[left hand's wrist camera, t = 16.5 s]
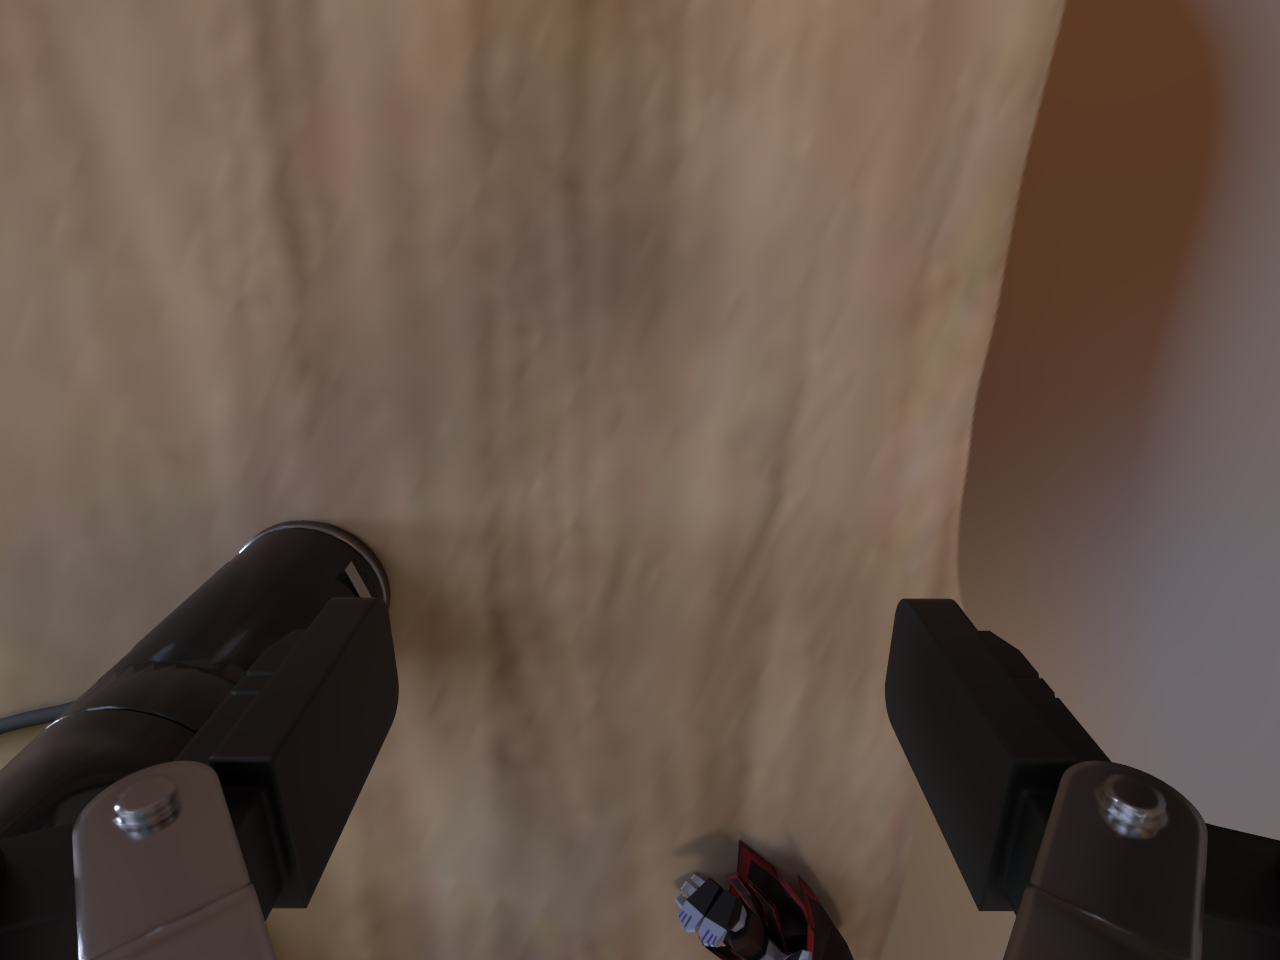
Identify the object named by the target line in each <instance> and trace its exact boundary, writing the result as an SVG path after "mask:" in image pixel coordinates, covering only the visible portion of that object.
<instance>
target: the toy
mask: <svg viewBox="0 0 1280 960" xmlns="http://www.w3.org/2000/svg"><path fill="white" fill-rule="evenodd" d="M727 875H728V876H726V878H727V879H728V880H729V882H730V883H731V884H732V885H731V887H730V889H729V891H725V890H723V888H722V887H721V886H719V885H718V884H717V883H716V882H715V881H714V880H713V879H711V878H708V879H707V880H706V879H705V878H703V877H702V876H700V875H698V874H696V873H695V874H694V875H693V876H692V878H691V880H692V881H693V882H694V883H695V884H696V885H698V886H699V888H698V889H696V888H695V887H694V886H692V885H691V884H690V883H688V882H687V881H686V882H685V884H684V885H683V886H682V887H681V890H682V891H683V892H685V893H686V894H687V895H688V896H689V898H688V899H687V898H685V897H684V896H682V895H681V894H680V893H679V894H678V896H677V897H676V899H675V901H676V903H677V904H678V906H679V907H680V908H681V910H680V911H679V912H678V917H679V918H680V920H681V922H682V924H683V926H684V928H685V931H686V932H697V931H698V929H699V935H700V937H699V936H698V937H699V938H700V940H701V943H702V945H704V946H705V947H706V948H707V949H708V950H710V951H711V952H712V953H714V955H717V957H718V958H720V959H721V960H854V959H853V957H852V955H851V952H850V950H849V947H848V945H847V943H846V941H845V940H844V939H843V937H842V936H841V934H840V933H839V931H838V930H837V928H836V927H835V925H834V924H833V922H832V921H831V919H830V918H829V916H828V915H827V913H826V912H825V910H824V909H823V907H822V905H821V904H820V902H819V901H818V899H817V898H816V896H815V895H814V893H813V892H812V890H811V889H810V887H809V886H808V885H807V884H806V883H805V882H804V881H803V880H802V878H801V877H800V876H799V875H798V878H799V883H800V887H801V891H802V895H803V899H804V903H803V902H802V900H801V899H800V898H799V897H798V896H797V894H796V893H795V892H794V891H793V889H792V888H791V887H790V886H789V884H788V883H787V882H786V881H785V879H784V878H783V877H782V876H781V874H780V873H779V872H778V871H777V869H776V868H775V867H774V866H773V865H772V864H770V863H769V862H768V861H766V860H765V859H764V858H762V857H761V856H760V855H759V854H757V853H756V852H755V851H753V850H752V849H751V848H749V847H748V846H747V845H745V844H744V843H743V842H742V841H739V854H738V867H737V872H735V873H731V874H727ZM722 943H724V944H725V945H726V946H724V947H722V946H721V945H722Z"/></svg>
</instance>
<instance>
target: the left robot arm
mask: <svg viewBox="0 0 1280 960" xmlns="http://www.w3.org/2000/svg"><path fill="white" fill-rule="evenodd" d="M389 600H390V595H389V586H388V582H387V579H386V576H385V573H384V571H383V569H382V567H381V565H380V564H379V562H378V561H377V559H376V558H375V556H374V555H373V554H372V553H371V552H370V551H369V550H368V548H367V547H365V546H364V545H363V544H362V543H361V542H360V541H358V540H357V539H356V538H354V537H353V536H351V535H350V534H348V533H346V532H344V531H342V530H340V529H338V528H335V527H333V526H330V525H327V524H323V523H319V522H312V521H290V522H284V523H280V524H277V525H274V526H271V527H269V528H267V529H265V530H264V531H262V532H260V533H259V534H258V535H256V536H255V537H254V538H253V539H252V540H251V541H250V542H248V543H247V544H246V545H245V546H244V548H243V549H242V550H241V551H240V553H239V554H238V555H237V556H236V557H235V558H233V559H232V560H231V561H230V562H228V563H226V564H225V565H224V566H223V567H222V568H221V569H220V570H218V571H217V572H216V573H215V574H214V575H213V576H212V577H211V578H210V579H208V580H207V581H206V582H205V583H204V584H203V585H202V586H201V587H200V588H199V589H197V590H196V591H195V592H194V593H193V594H192V595H191V596H190V597H189V598H187V599H186V600H185V601H184V602H183V603H182V604H181V605H180V606H179V607H177V608H176V609H175V610H174V611H173V612H172V613H171V614H170V615H169V616H167V617H166V618H165V619H164V620H163V621H162V622H161V623H160V624H159V625H157V626H156V627H155V628H154V629H153V630H152V631H151V632H150V633H149V634H147V635H146V636H145V637H144V638H143V639H142V640H141V641H140V642H139V643H137V644H136V645H135V646H134V647H133V649H132V650H131V651H130V652H129V653H128V654H127V655H126V656H124V657H123V658H122V659H121V660H120V661H119V662H118V663H117V664H116V665H115V666H113V667H112V668H111V669H110V670H109V671H108V672H107V673H106V674H105V675H103V676H102V677H101V678H100V679H99V680H98V681H97V682H96V683H95V684H94V685H93V686H92V687H91V688H90V689H88V690H87V691H86V692H85V693H84V694H83V695H82V696H81V697H80V698H79V699H77V700H76V701H74V702H70V703H66V704H62V705H58V706H53V707H48V708H44V709H39V710H34V711H30V712H25V713H21V714H17V715H13V716H10V717H6V718H3V719H0V734H3V733H6V732H10V731H13V730H17V729H21V728H25V727H29V726H34V725H39V724H43V723H48V722H52V723H51V724H50V725H49V726H48V727H46V729H44V730H43V731H42V732H41V733H40V734H39V735H38V736H37V737H35V738H34V739H33V740H32V741H31V742H30V743H29V744H28V745H27V746H26V747H25V748H24V749H23V750H22V751H20V752H19V753H18V754H17V755H16V756H15V757H14V758H13V759H12V760H11V761H10V762H9V763H8V764H7V765H6V766H5V767H4V768H3V769H2V770H1V771H0V960H277V958H276V955H275V952H274V948H273V945H272V942H271V939H270V936H269V932H268V929H267V926H266V923H265V921H266V919H267V917H268V915H269V913H270V911H271V910H272V908H307V906H308V904H309V902H310V899H311V897H312V895H313V893H314V891H315V889H316V886H317V884H318V882H319V880H320V878H321V876H322V874H323V871H324V869H325V867H326V865H327V863H328V861H329V859H330V856H331V854H332V852H333V850H334V848H335V846H336V843H337V841H338V839H339V837H340V835H341V833H342V831H343V828H344V826H345V824H346V822H347V820H348V818H349V816H350V813H351V811H352V809H353V807H354V805H355V803H356V800H357V798H358V796H359V794H360V792H361V790H362V788H363V785H364V783H365V781H366V779H367V777H368V775H369V773H370V770H371V768H372V766H373V764H374V762H375V760H376V757H377V755H378V753H379V751H380V749H381V747H382V745H383V742H384V740H385V738H386V736H387V734H388V732H389V730H390V727H391V725H392V723H393V720H394V717H395V714H396V710H397V704H398V694H399V684H398V675H397V668H396V661H395V654H394V647H393V640H392V633H391V626H390V619H389V613H388V608H389ZM885 700H886V707H887V713H888V717H889V720H890V723H891V725H892V727H893V729H894V731H895V734H896V736H897V738H898V740H899V742H900V744H901V746H902V748H903V751H904V753H905V755H906V757H907V759H908V761H909V763H910V765H911V768H912V770H913V772H914V774H915V776H916V778H917V780H918V782H919V785H920V787H921V789H922V791H923V793H924V795H925V797H926V799H927V802H928V804H929V806H930V808H931V810H932V812H933V814H934V816H935V818H936V821H937V823H938V825H939V827H940V829H941V831H942V833H943V835H944V838H945V840H946V842H947V844H948V846H949V848H950V850H951V853H952V855H953V857H954V859H955V861H956V863H957V865H958V867H959V869H960V872H961V874H962V876H963V878H964V880H965V882H966V884H967V887H968V889H969V891H970V893H971V895H972V897H973V899H974V901H975V904H976V906H977V908H978V910H979V911H1014V913H1015V915H1016V920H1015V923H1014V926H1013V929H1012V932H1011V936H1010V939H1009V942H1008V945H1007V948H1006V952H1005V955H1004V958H1003V960H1280V841H1279V840H1274V839H1270V838H1266V837H1262V836H1257V835H1253V834H1249V833H1244V832H1240V831H1236V830H1231V829H1227V828H1223V827H1218V826H1214V825H1211V824H1207V823H1205V822H1204V820H1203V818H1202V816H1201V815H1200V813H1199V812H1198V810H1197V809H1196V808H1195V807H1194V806H1193V805H1192V803H1191V802H1190V801H1188V800H1187V799H1186V798H1185V797H1184V796H1183V795H1182V794H1180V793H1179V792H1178V791H1177V790H1175V789H1174V788H1173V787H1171V786H1169V785H1168V784H1166V783H1165V782H1163V781H1162V780H1160V779H1158V778H1156V777H1154V776H1152V775H1150V774H1148V773H1145V772H1143V771H1141V770H1138V769H1135V768H1132V767H1129V766H1126V765H1122V764H1118V763H1113V762H1111V761H1110V760H1109V758H1108V757H1107V756H1106V755H1105V753H1104V752H1103V751H1102V750H1101V749H1100V747H1099V746H1098V745H1097V744H1096V743H1095V741H1094V740H1093V739H1092V738H1091V737H1090V735H1089V734H1088V733H1087V732H1086V731H1085V729H1084V728H1083V727H1082V726H1081V724H1080V723H1079V722H1078V721H1077V720H1076V718H1075V717H1074V716H1073V715H1072V714H1071V712H1070V711H1069V710H1068V709H1067V707H1066V706H1065V705H1064V704H1063V703H1062V701H1061V700H1060V699H1059V698H1055V696H1054V692H1053V691H1052V689H1051V688H1050V687H1049V686H1048V684H1047V683H1046V682H1045V681H1044V680H1043V678H1039V674H1038V672H1037V671H1036V670H1035V669H1034V668H1033V666H1032V665H1031V664H1030V663H1029V661H1028V660H1027V659H1026V658H1025V657H1024V655H1023V654H1022V653H1021V652H1020V651H1019V650H1018V649H1016V648H1015V647H1013V646H1012V645H1010V644H1009V643H1007V642H1006V641H1004V640H1003V639H1001V638H1000V637H998V636H997V635H995V634H994V633H992V632H991V631H978V630H977V629H976V628H975V626H974V625H973V624H972V622H971V621H970V620H969V618H968V617H967V616H966V615H965V613H964V612H963V611H962V609H961V608H960V607H959V605H958V604H957V603H956V602H955V601H954V600H952V599H902V600H901V601H900V602H899V603H898V606H897V609H896V613H895V619H894V626H893V633H892V640H891V647H890V654H889V660H888V667H887V674H886V681H885Z"/></svg>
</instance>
